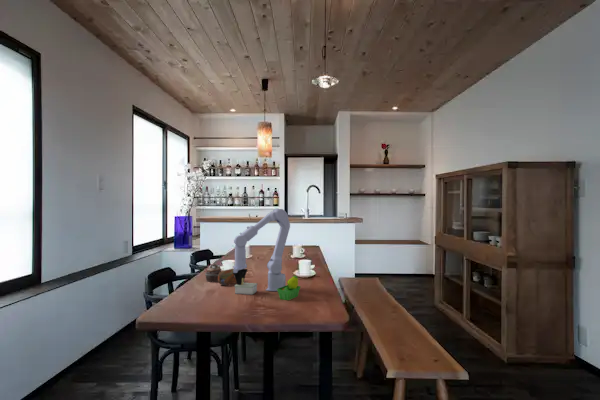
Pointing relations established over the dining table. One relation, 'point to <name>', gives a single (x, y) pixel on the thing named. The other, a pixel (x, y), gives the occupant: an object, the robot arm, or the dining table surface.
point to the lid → (246, 284)
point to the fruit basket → (289, 289)
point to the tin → (226, 277)
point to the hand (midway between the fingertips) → (240, 283)
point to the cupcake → (213, 273)
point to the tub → (245, 290)
